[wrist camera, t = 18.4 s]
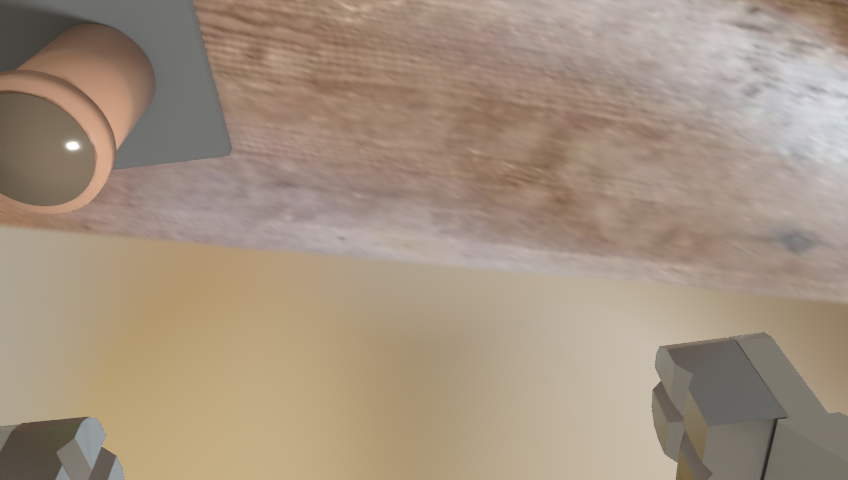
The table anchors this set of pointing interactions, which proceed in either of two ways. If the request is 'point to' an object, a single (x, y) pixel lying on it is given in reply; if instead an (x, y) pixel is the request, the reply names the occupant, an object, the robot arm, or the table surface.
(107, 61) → the terracotta pot
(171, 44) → the rubber mat
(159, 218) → the table surface
